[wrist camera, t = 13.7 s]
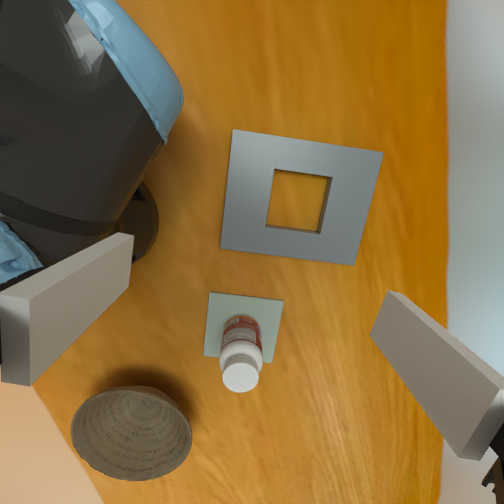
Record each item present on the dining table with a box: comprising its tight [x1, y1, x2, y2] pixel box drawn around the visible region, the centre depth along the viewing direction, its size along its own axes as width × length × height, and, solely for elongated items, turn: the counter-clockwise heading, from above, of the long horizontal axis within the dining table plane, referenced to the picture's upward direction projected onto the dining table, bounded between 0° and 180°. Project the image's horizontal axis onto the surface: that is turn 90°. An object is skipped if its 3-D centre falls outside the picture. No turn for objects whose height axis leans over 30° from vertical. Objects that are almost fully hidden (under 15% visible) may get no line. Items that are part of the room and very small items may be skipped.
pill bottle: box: [219, 314, 263, 392], centre depth 40 cm, size 6×6×11 cm
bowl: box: [71, 385, 192, 481], centre depth 46 cm, size 18×18×8 cm
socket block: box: [220, 129, 384, 265], centre depth 39 cm, size 20×16×2 cm
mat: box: [203, 292, 284, 363], centre depth 46 cm, size 12×12×1 cm
